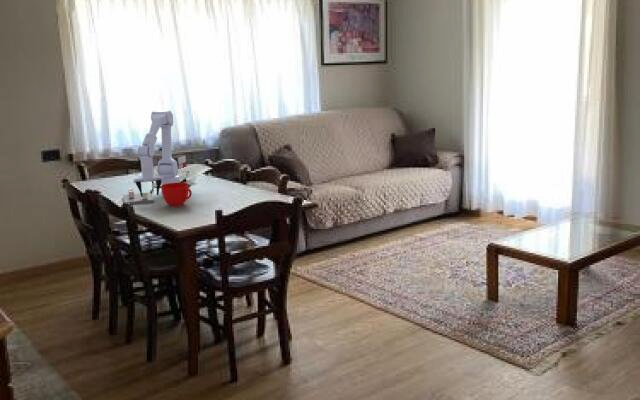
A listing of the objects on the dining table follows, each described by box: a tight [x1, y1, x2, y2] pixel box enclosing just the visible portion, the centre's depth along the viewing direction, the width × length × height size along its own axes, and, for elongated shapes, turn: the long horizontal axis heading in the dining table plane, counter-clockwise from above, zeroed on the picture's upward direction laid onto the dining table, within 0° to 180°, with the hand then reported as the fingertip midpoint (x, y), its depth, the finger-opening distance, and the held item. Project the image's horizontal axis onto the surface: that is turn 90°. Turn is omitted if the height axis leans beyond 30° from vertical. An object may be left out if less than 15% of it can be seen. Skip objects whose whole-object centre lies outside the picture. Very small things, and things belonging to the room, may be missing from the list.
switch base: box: [122, 192, 155, 206], centre depth 309 cm, size 14×19×2 cm
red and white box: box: [172, 154, 188, 169], centre depth 355 cm, size 11×4×15 cm, turn 168°
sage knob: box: [142, 191, 148, 199], centre depth 303 cm, size 2×2×3 cm
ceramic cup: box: [160, 182, 192, 208], centre depth 294 cm, size 13×17×10 cm
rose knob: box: [128, 190, 135, 198], centre depth 307 cm, size 2×2×3 cm
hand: (149, 195), depth 304 cm, fingers open, 7 cm apart
